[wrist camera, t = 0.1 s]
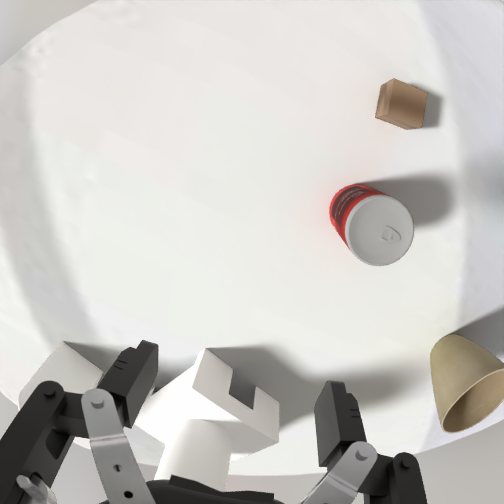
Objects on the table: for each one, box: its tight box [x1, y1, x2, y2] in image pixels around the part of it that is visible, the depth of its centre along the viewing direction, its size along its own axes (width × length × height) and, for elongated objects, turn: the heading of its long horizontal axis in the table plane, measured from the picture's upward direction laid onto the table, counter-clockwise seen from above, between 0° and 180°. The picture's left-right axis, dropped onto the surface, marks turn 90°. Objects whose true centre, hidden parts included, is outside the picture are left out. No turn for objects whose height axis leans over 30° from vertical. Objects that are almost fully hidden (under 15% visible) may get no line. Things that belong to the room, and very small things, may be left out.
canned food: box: [329, 185, 414, 266], centre depth 33 cm, size 8×8×11 cm
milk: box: [18, 341, 103, 411], centre depth 42 cm, size 12×12×26 cm
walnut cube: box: [375, 78, 427, 130], centre depth 31 cm, size 5×5×5 cm
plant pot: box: [430, 334, 504, 433], centre depth 37 cm, size 15×15×16 cm
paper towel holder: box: [134, 348, 280, 492], centre depth 38 cm, size 19×19×30 cm
